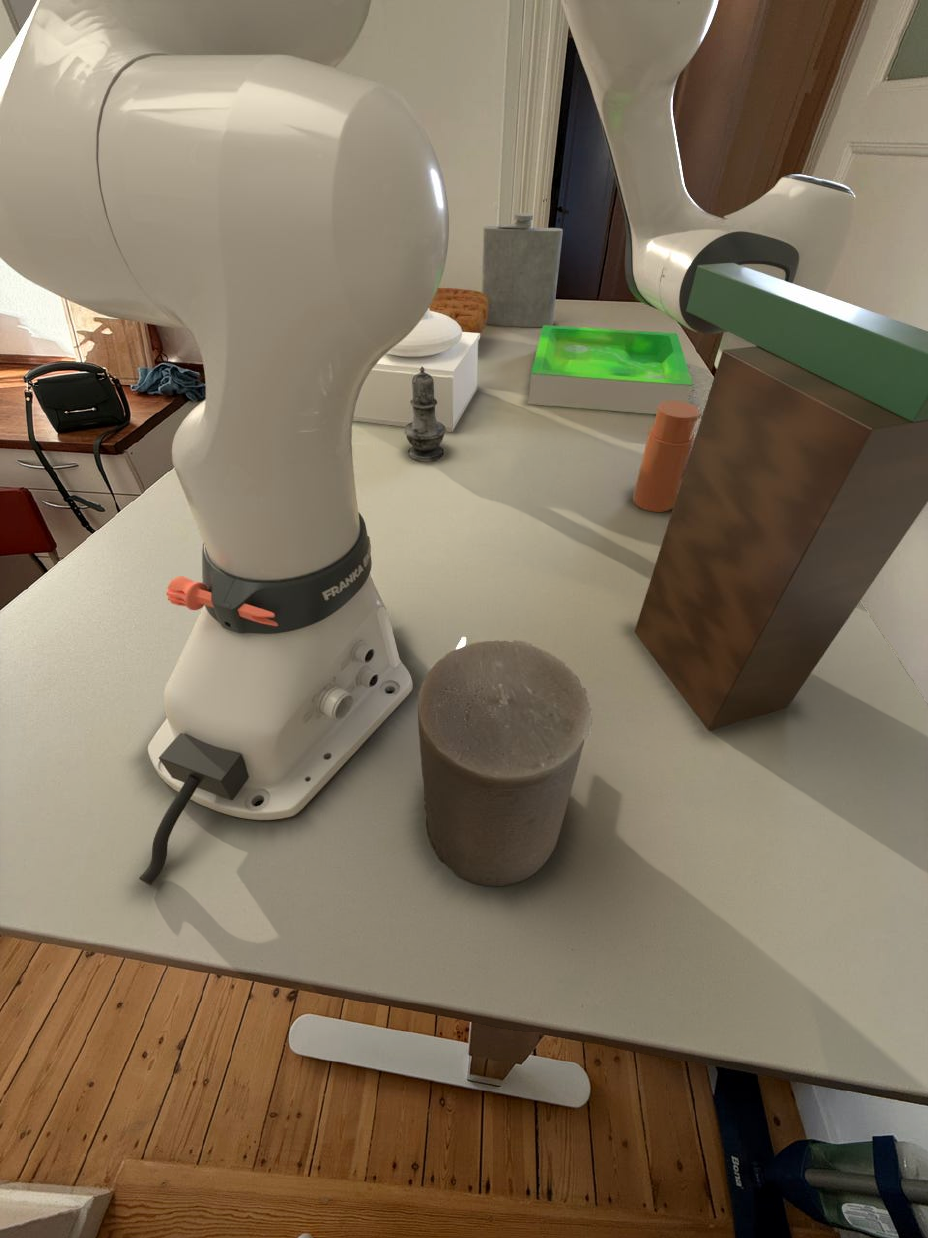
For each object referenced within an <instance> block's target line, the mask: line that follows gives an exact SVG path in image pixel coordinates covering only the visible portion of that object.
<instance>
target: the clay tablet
mask: <svg viewBox="0 0 928 1238" xmlns="http://www.w3.org/2000/svg"><path fill="white" fill-rule="evenodd" d="M429 310H430V311H433V312H437V313H440V314H443V315H446V316H448V317H450V318H452V319H453V320H455V321H456V322H457V323H458V324H459V325H460V327H461V329H462V332H471V333H480V336H481V335H482V333H483V331H484V328H485V326H486V324H485V323H486V321H487V317H488V310H489V299H488V297H487V296H486V295H484V294H483V293H482V291H478V290H473V289H464V288H452V287H438V290H437V292H436V295H435V297H434V299H433V300H432V302H431V304H430V306H429Z"/></svg>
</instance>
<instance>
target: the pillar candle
mask: <svg viewBox="0 0 928 1238" xmlns="http://www.w3.org/2000/svg"><path fill="white" fill-rule="evenodd" d="M532 644H533V643H532V642H531V643H530V642H528V641H524V640H513V641H507V640H496V639H495V640H486V641H477V642H474V643H470V644H465V645H464V647H461V648H459V649H456V648H455V649H454V650H451V651H450V652H448V653H446V654H445V655H444V656H443V657H441V658H440V659H439V660H438V661H437V662H436V663H435V664H433V666H432V667H431V668H430V670H429V672H428V673H427V674H426V676H425V678H424V679H423V681H422V683H421V686H420V689H419V691H418V694H417V695H418V699H417V700H418V701H417V722H418V723H417V724H418V735H419V751H420V765H421V773H422V775H421V776H422V780H423V795H424V797H423V801H424V811H425V814H426V817H425V826H426V834H427V837H428V841H429V843H430V846H431V849H432V850H433V852H434V854H435V856H436V858H437V859H438V860H439V861H440V862H442V863H444V864H445V865H446V867H447V868H449V869H451V871H453V873H454V874H455V875H456V876H458V877H460V878H462V879H464V880H466V881H468V882H470V883H474V884H478V885H482V886H488V887H491V886H492V887H496V886H497V887H502V886H508V885H513V884H514V885H515V884H517V883H519V882H522V881H525V880H527V879H528V878H529V877H531V876H533V875H534V874H535V873H537V872H538V871H539V870H540V869H541V868H542V867H543V866H544V865H545V864H546V862H548V860H549V859H550V857H551V856H552V855H553V851H554V850H555V848H556V846H557V843H558V839H559V836H560V832H561V829H562V825H563V822H564V818H565V815H566V811H567V807H568V803H569V799H570V795H571V794H572V793H571V792H572V788H573V785H574V782H575V778H576V773H577V771H578V768H579V767H578V766H579V763H580V760H581V757H582V756H581V755H582V752H583V751H582V750H583V748H584V745H585V740H586V739H587V738H588V737H589V735H590V733H591V732H590V731H591V730H590V727H591V726H592V724H593V723H592V722H593V714H592V713H591V711H592V707H590V702H589V700H588V696H587V689H586V687H585V688H584V687H583V686H582V683H581V680H580V678H579V677H578V675H577V674H575V673H574V672H573V670H571V669H570V668H569V666H567V665H566V663H565V662H563V661H562V660H560V659H559V658H557V657H556V656H554V655H552V654H551V653H549V652H547V651H546V650H543V649H541V648H538V647H537V646H533V645H532Z"/></svg>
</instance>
